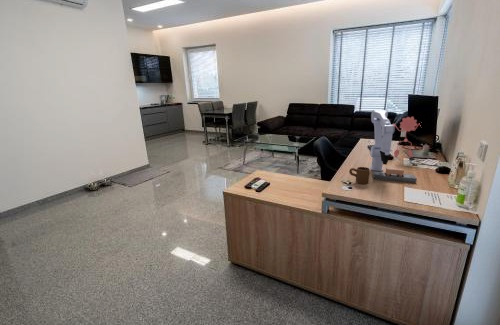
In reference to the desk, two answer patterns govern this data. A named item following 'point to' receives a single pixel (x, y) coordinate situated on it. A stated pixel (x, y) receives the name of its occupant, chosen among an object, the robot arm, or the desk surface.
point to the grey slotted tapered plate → (394, 177)
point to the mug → (361, 174)
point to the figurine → (407, 126)
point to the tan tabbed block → (394, 171)
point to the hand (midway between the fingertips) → (383, 162)
